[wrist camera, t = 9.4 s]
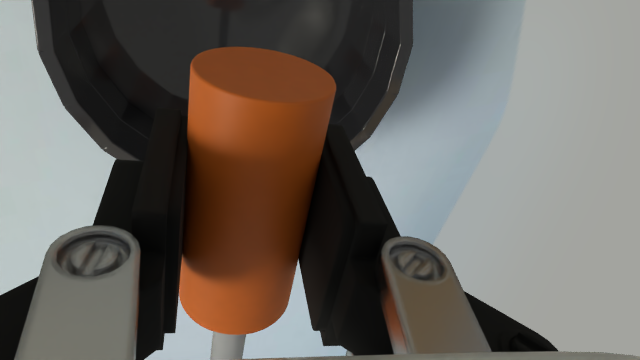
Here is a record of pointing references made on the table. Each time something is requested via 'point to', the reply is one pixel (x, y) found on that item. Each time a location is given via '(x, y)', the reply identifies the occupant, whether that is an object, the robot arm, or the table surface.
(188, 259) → the screwdriver
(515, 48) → the table surface
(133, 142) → the bowl
